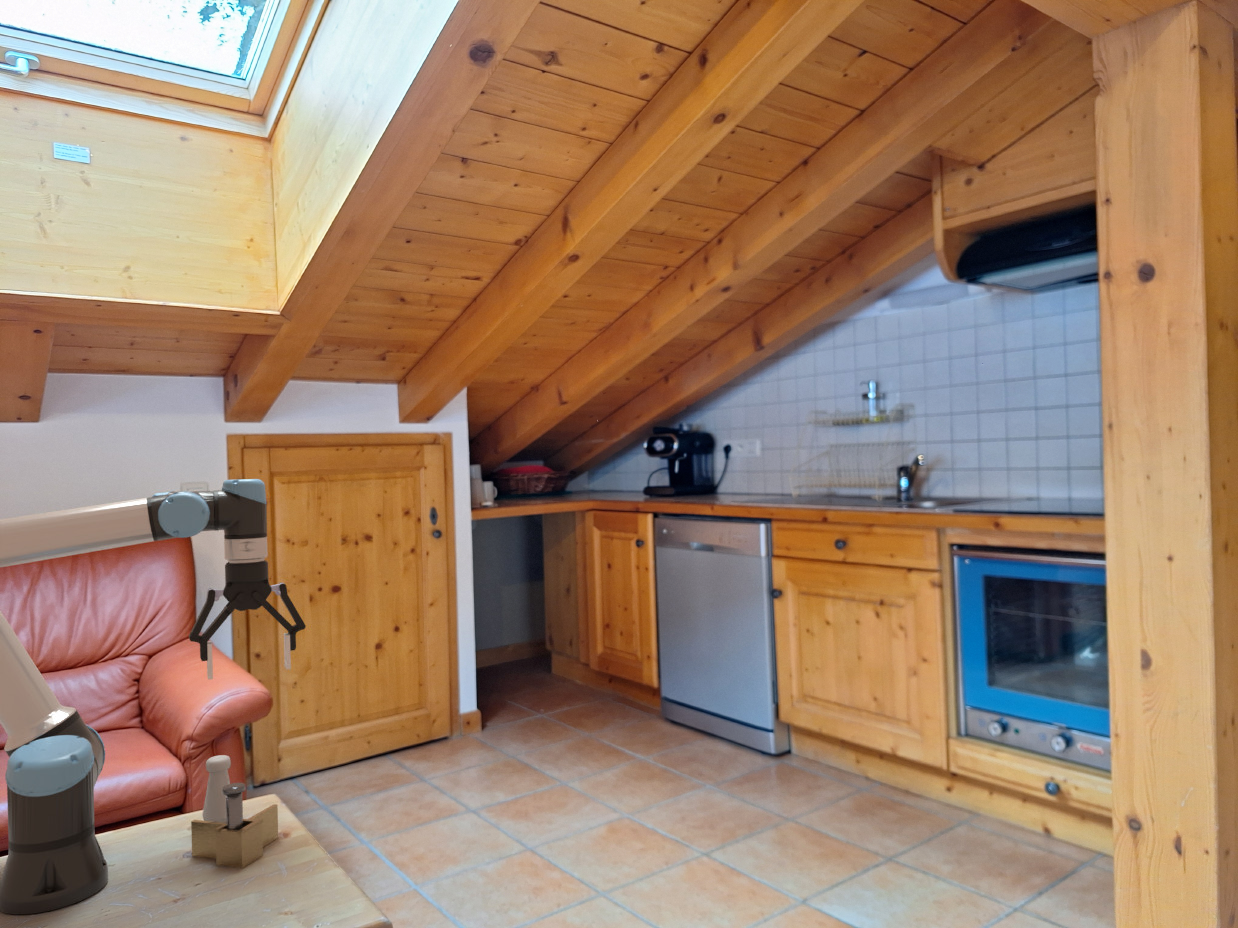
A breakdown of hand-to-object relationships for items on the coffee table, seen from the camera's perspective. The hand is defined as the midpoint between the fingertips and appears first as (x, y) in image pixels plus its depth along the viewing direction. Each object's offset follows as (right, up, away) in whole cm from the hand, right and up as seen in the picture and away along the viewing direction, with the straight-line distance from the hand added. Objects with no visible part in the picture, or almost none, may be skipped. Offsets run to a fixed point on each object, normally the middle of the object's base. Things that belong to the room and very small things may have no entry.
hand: (249, 672), depth 167 cm
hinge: (+2, -29, -11) cm, 31 cm away
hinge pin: (+4, -29, -16) cm, 33 cm away
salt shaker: (-6, -29, 0) cm, 30 cm away
